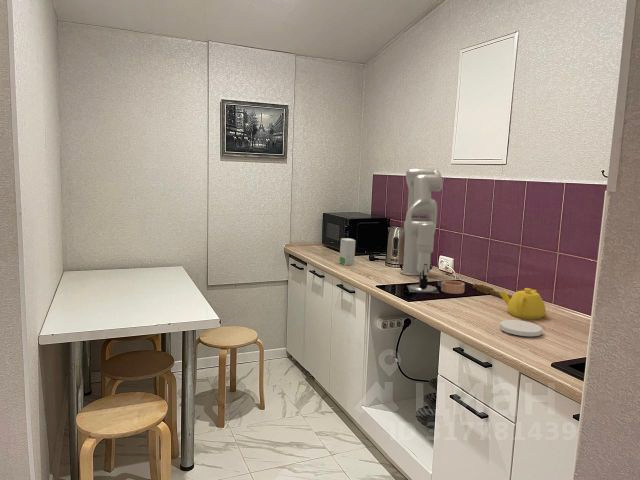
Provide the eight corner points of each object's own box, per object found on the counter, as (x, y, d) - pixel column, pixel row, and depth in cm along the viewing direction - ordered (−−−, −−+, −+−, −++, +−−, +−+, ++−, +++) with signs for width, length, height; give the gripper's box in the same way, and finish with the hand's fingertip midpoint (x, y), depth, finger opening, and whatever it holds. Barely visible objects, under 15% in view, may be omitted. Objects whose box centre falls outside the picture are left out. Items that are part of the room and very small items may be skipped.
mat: (406, 286, 239) (406, 285, 239) (435, 287, 238) (435, 286, 238) (409, 293, 225) (409, 291, 225) (439, 294, 224) (439, 293, 224)
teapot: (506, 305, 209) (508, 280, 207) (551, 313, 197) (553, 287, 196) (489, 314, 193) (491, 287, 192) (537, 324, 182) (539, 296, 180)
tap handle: (516, 298, 210) (471, 283, 238) (516, 305, 211) (471, 289, 238) (522, 297, 212) (476, 282, 239) (521, 304, 212) (476, 288, 240)
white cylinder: (339, 263, 297) (340, 238, 295) (348, 262, 300) (349, 238, 298) (345, 265, 289) (346, 240, 287) (355, 265, 292) (356, 239, 290)
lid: (407, 285, 238) (408, 274, 238) (434, 286, 237) (434, 275, 237) (410, 291, 225) (411, 280, 225) (438, 292, 225) (439, 281, 224)
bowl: (439, 289, 235) (440, 280, 234) (461, 290, 234) (461, 281, 234) (443, 294, 225) (444, 284, 224) (465, 295, 224) (466, 285, 223)
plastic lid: (542, 341, 163) (543, 334, 163) (499, 335, 168) (499, 328, 168) (540, 329, 176) (541, 323, 176) (499, 324, 181) (500, 318, 181)
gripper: (415, 245, 237) (413, 282, 240) (419, 250, 221) (417, 289, 223) (430, 246, 237) (428, 282, 239) (435, 251, 220) (433, 290, 223)
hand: (422, 285), depth 231 cm, fingers closed on lid, 3 cm apart
